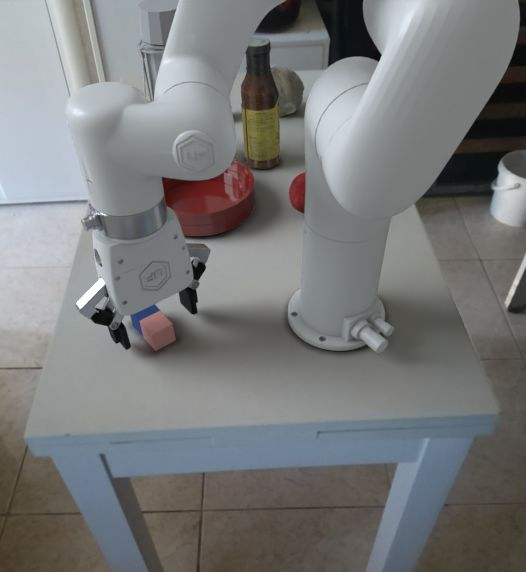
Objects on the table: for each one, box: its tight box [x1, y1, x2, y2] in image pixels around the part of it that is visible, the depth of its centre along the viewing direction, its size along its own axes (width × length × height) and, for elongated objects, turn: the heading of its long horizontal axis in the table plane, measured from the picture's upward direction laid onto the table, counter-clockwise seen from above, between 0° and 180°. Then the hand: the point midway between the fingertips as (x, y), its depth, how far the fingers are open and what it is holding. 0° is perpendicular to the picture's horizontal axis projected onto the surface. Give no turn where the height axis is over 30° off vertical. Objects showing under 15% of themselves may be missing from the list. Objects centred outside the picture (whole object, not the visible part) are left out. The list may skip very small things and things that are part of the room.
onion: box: [288, 171, 306, 214], centre depth 87 cm, size 6×6×8 cm
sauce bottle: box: [240, 36, 281, 170], centre depth 94 cm, size 6×6×20 cm
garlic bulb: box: [270, 65, 305, 118], centre depth 110 cm, size 9×8×10 cm
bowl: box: [162, 158, 256, 237], centre depth 90 cm, size 17×17×4 cm
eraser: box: [129, 304, 177, 352], centre depth 72 cm, size 6×3×3 cm, turn 38°
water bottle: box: [136, 0, 179, 102], centre depth 92 cm, size 9×8×25 cm
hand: (157, 325), depth 72 cm, fingers open, 9 cm apart
